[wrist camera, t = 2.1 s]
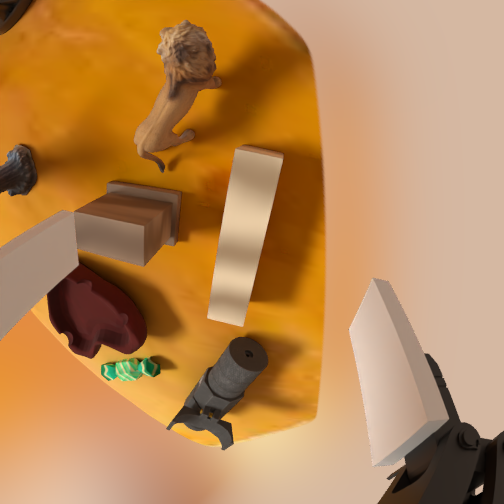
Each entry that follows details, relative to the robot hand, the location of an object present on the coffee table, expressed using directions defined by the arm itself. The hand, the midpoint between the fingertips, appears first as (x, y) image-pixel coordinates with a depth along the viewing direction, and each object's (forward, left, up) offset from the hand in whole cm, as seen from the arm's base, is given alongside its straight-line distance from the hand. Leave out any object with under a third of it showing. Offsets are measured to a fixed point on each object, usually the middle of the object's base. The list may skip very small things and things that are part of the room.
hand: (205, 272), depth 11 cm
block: (+6, 0, -19) cm, 20 cm away
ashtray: (+22, -21, -19) cm, 36 cm away
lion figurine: (-7, -8, -19) cm, 22 cm away
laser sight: (+32, 0, -19) cm, 37 cm away
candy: (+34, -16, -19) cm, 42 cm away
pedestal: (+6, -12, -19) cm, 23 cm away
